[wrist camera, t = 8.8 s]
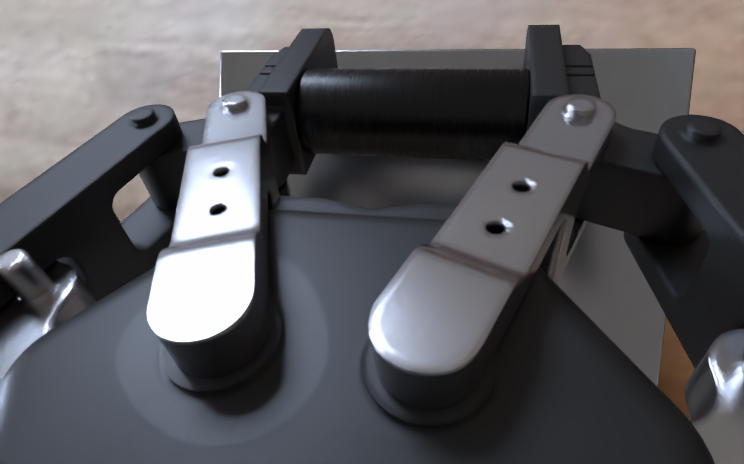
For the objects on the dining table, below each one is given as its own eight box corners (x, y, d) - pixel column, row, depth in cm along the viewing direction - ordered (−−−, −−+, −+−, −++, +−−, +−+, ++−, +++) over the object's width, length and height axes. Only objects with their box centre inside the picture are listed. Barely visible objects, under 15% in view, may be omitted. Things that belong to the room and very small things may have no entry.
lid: (233, 57, 17) (119, -2, 12) (684, 55, 14) (803, -23, 9) (221, 545, 19) (118, 684, 14) (620, 635, 16) (687, 859, 11)
